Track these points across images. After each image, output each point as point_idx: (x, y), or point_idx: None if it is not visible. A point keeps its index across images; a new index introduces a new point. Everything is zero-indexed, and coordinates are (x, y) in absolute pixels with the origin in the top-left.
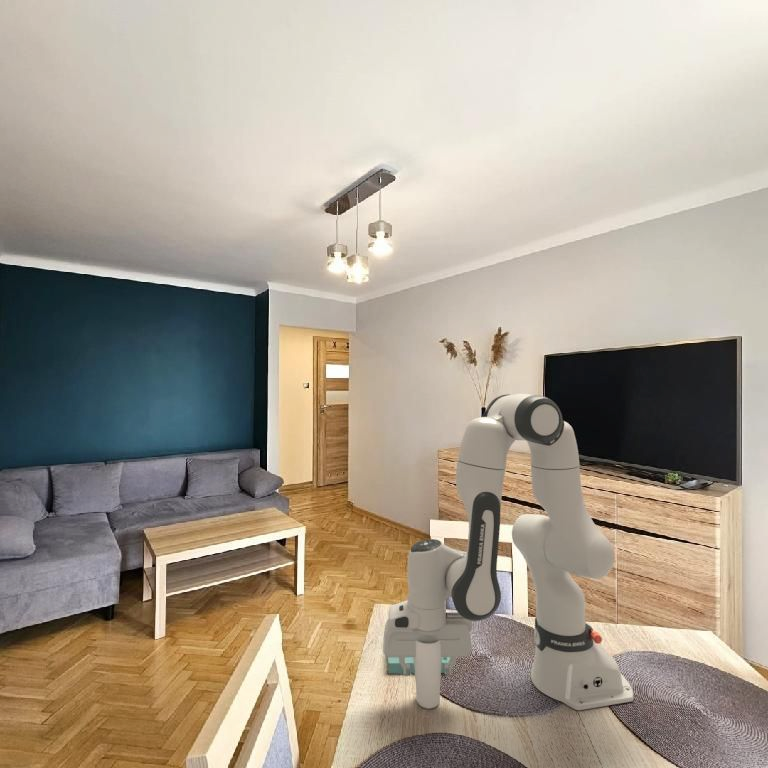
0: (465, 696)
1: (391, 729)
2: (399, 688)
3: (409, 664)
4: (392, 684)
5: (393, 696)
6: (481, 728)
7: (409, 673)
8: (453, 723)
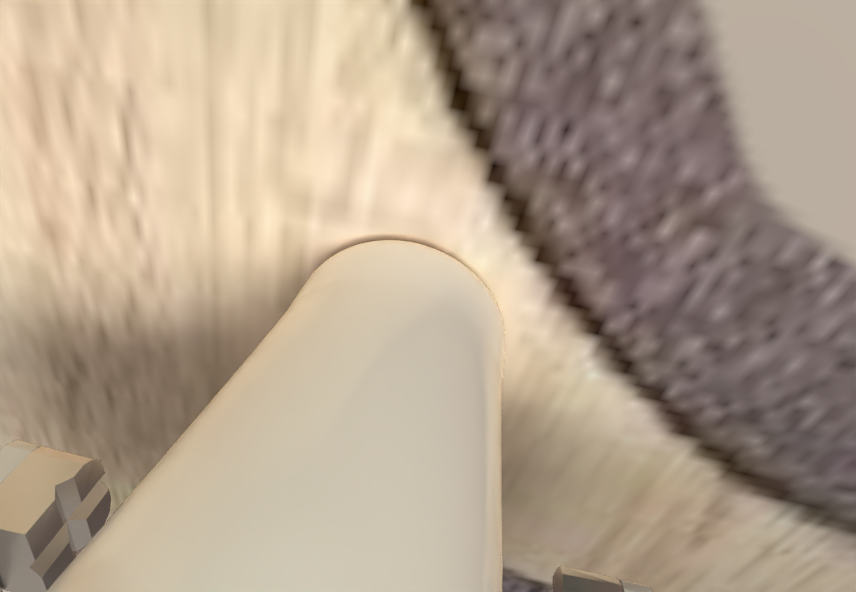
0: (779, 342)
1: (138, 457)
2: (150, 101)
3: (27, 543)
4: (70, 21)
5: (108, 198)
6: (696, 588)
7: (86, 538)
8: (531, 519)
